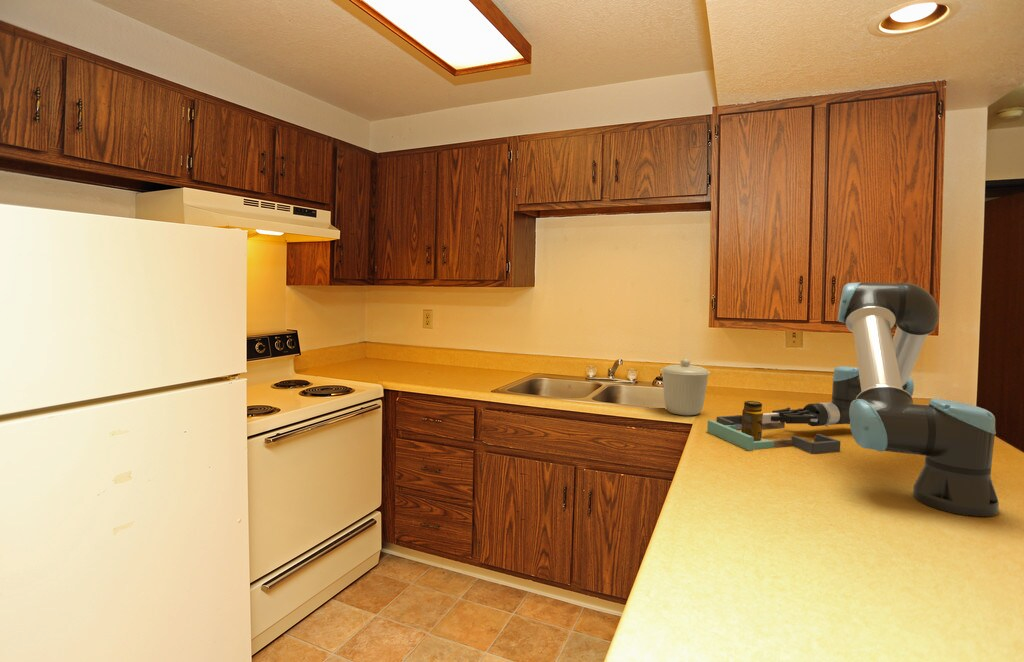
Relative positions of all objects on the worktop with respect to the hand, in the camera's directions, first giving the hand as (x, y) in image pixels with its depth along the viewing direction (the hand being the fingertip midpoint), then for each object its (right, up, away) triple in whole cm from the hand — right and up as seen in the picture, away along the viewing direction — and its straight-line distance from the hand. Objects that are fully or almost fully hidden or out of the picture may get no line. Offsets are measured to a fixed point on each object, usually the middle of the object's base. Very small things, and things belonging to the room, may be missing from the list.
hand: (760, 418), depth 173 cm
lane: (+7, -6, +2) cm, 9 cm away
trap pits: (+5, -6, +2) cm, 8 cm away
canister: (-14, -3, +34) cm, 37 cm away
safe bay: (-8, -7, -2) cm, 10 cm away
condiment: (-4, -7, 0) cm, 8 cm away
